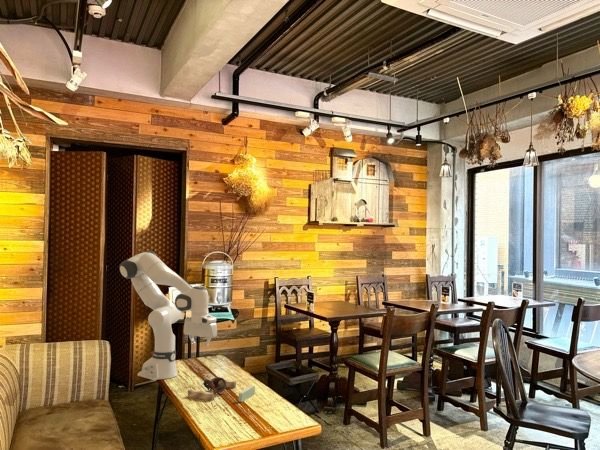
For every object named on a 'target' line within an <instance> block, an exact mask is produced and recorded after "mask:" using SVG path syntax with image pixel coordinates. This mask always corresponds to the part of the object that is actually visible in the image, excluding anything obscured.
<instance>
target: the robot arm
mask: <svg viewBox="0 0 600 450" xmlns="http://www.w3.org/2000/svg"><path fill="white" fill-rule="evenodd" d="M118 268H119V272H120V274H121V276H122V277H123V278H125V279H127V280H128V279H130V281H131V283H132V286H133V288H134V290H135V291H136V294H137V295H138V296H139V298H140V299H141V301H142V303H144V305H145V306H146V307H149V308H150V309H151V310H152V311H151V312H150V313H149V315H148V317H147V320H148V321H147V322H148V324H149V326H150V327H151V328H152V331H153V336H154V350H153V351H151V352H150V355H151V357H150V358H149V359H148V360H146V361H145V362H144V363H143V364H142V367H141V371H139V372H138V373H137V376H138V377H141V378H145V379H149V380H152V381H157V380H167V379H172V378H176V377H177V376H178V371H177V365H176V358H177V357H176V356H177V351H176V335H175V334H174V333H173V328H172V324H175V323H177V322H178V321H179V320H180V318H181V316H182V312H188V311H190V316H186V317H185V319H184V324H183V334H184V335H185V336H188V337H189V340H190V345H196V339H195V338H194V337H201V338H206V341H205V342H204V346H205V347H209V346H210V342H211V341H212V339H213V338H216V337H217V336H218V324H217V317H216V316H214V315H212V314H210V313H209V312H210V311H209V300H210V299H209V293H208V290H207V288H206V287H204V286H198V285H197V286H192V285H191V284H190V283H189V282H187V281H186V280H185V279H184V278H183V277H182V276H180V275H179V274H178V273H176V272H175V271H174V270H172V269H171V268H170V267H168V266H167V264H166V263H165V262H163V261H162V259H160V258H159V257H158V255H157V253H155V252H154V251H153V250H146V251H144V252H140V253H138V254H136V255H133V256H132V257H130V258H128V259H126V260H124V261H122V262H121V263H120V264H119V267H118ZM158 285H161V286H162V285H164V286H170V287H173V288H175V289H176V290H178V291H179V292H180V293H178V294H177V295H176V296H175V299H174V303H173V302H172V301H171V300H170V299H169V298H168V297H166V295H165V294H164V293H163V292H162V291H161V289H160V287H159V286H158Z"/></svg>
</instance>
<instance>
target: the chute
mask: <svg viewBox="0 0 600 450" xmlns="http://www.w3.org/2000/svg"><path fill="white" fill-rule="evenodd" d="M213 378H214V377H213ZM213 378H211V379H210V381H211V380H212V379H213ZM224 380H225V381H226V385H227V387H226V388H228V387H230V388H229V389H236V388H237V381H235V380H230V379H229V380H228V379H224ZM218 384H219V385H221V386H223V385H224V382H223V381H222V380H221V381H219V383H218ZM187 397H188V398H194V399H199V400H205V401H209V402H210V401H211V402H212V401H214V400H215V395H214V393H213V392H210V391H209V392H208V391H202V390H197V389H187Z"/></svg>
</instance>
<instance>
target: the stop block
mask: <svg viewBox="0 0 600 450" xmlns="http://www.w3.org/2000/svg"><path fill="white" fill-rule="evenodd" d="M255 388H256V385H250V386H248V387H246V388H245V389H243V390H241V391H240V392H238V402H239V403H244V401H247V400H248V399H250V398H251V397H253V396H254V395H256V394H255V391H256V389H255Z"/></svg>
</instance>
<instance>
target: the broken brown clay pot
mask: <svg viewBox="0 0 600 450" xmlns="http://www.w3.org/2000/svg"><path fill="white" fill-rule="evenodd" d="M211 379H212V378H211ZM211 379H205V380H204V381H203V386H204V387H205V389H206V390H207V391H211V390H213V391H212V393H214V396H217V394H219V393H222V392H224V391H225V390H226V389H227V388H228V387H227V385H226V381H225V380H226V379H224V378H223V377H220V376H217V377H216V376H215V377H213V379H212V380H211ZM221 380H222V381H223V382H224V385H223V386H221V385H219V384H218V383H219V381H221Z"/></svg>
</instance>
